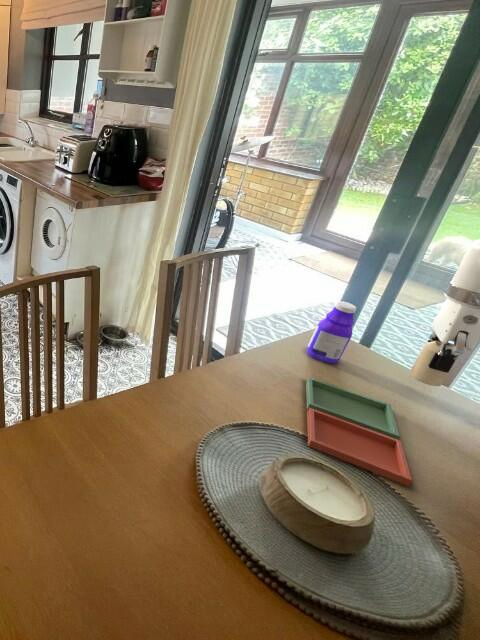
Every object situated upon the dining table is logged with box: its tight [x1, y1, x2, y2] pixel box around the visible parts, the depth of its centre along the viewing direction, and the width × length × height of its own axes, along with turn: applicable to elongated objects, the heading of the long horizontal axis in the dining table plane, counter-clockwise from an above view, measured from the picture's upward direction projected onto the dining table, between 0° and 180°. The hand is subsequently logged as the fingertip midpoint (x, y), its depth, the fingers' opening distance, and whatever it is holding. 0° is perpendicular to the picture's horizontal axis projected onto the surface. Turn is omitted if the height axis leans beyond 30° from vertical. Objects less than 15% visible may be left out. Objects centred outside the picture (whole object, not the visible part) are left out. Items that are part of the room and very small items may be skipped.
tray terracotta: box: [306, 408, 413, 487], centre depth 87 cm, size 16×12×2 cm
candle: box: [409, 341, 458, 387], centre depth 96 cm, size 6×6×10 cm
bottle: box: [306, 300, 357, 364], centre depth 112 cm, size 7×6×17 cm
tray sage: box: [305, 376, 400, 440], centre depth 97 cm, size 16×12×2 cm
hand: (434, 362), depth 96 cm, fingers closed on candle, 5 cm apart
